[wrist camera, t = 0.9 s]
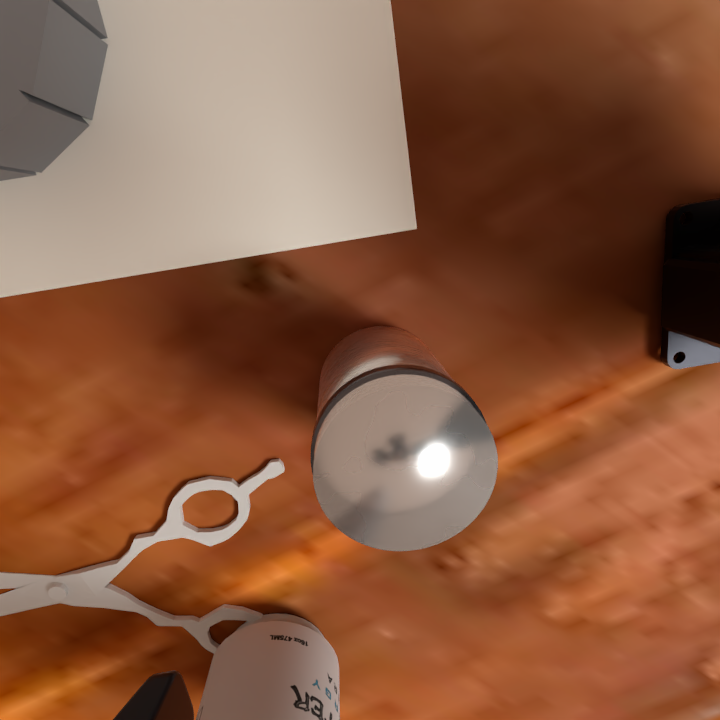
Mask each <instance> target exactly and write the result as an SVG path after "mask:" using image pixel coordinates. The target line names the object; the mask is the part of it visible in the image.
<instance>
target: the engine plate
mask: <svg viewBox="0 0 720 720" xmlns="http://www.w3.org/2000/svg"><path fill="white" fill-rule="evenodd" d="M414 229H417V224H416V216H415V207H414V198H413V190H412V181H411V172H410V164H409V155H408V147H407V138H406V129H405V121H404V112H403V103H402V95H401V86H400V77H399V69H398V60H397V51H396V43H395V34H394V25H393V17H392V8H391V0H0V298H1V297H7V296H13V295H19V294H25V293H31V292H37V291H43V290H49V289H55V288H61V287H68V286H74V285H80V284H86V283H92V282H98V281H104V280H110V279H116V278H122V277H128V276H134V275H140V274H146V273H153V272H159V271H165V270H171V269H177V268H183V267H189V266H195V265H201V264H207V263H213V262H219V261H225V260H232V259H238V258H244V257H250V256H256V255H262V254H268V253H274V252H280V251H286V250H292V249H298V248H304V247H310V246H317V245H323V244H329V243H335V242H341V241H347V240H353V239H359V238H365V237H371V236H377V235H383V234H389V233H396V232H402V231H408V230H414Z"/></svg>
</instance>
